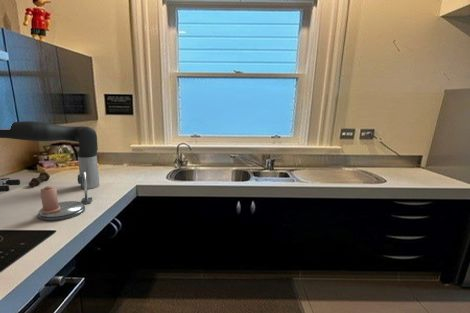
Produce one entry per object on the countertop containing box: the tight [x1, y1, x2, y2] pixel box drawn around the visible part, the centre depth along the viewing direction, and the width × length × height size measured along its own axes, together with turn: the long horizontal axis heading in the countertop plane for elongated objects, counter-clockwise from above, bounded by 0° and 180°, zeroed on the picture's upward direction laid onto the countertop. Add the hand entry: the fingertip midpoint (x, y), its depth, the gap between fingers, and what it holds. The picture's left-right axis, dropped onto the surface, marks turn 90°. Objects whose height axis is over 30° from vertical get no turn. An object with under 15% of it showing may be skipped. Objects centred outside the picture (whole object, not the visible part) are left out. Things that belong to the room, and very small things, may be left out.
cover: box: [40, 185, 61, 214], centre depth 113 cm, size 7×7×10 cm
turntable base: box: [37, 204, 86, 222], centre depth 118 cm, size 17×17×1 cm
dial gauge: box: [77, 172, 94, 205], centre depth 129 cm, size 4×4×15 cm
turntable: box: [38, 200, 85, 218], centre depth 118 cm, size 16×16×1 cm
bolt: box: [28, 171, 51, 188], centre depth 157 cm, size 6×5×15 cm
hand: (14, 185), depth 109 cm, fingers open, 8 cm apart
